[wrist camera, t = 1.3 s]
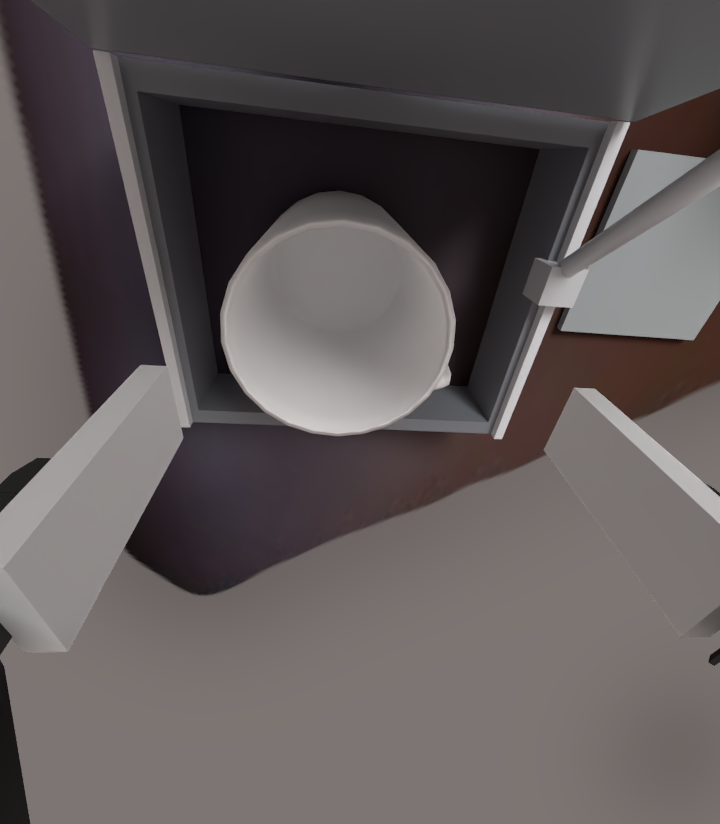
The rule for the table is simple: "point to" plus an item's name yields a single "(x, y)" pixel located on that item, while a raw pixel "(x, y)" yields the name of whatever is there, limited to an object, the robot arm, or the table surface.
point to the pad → (653, 261)
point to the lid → (436, 45)
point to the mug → (338, 318)
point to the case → (256, 94)
